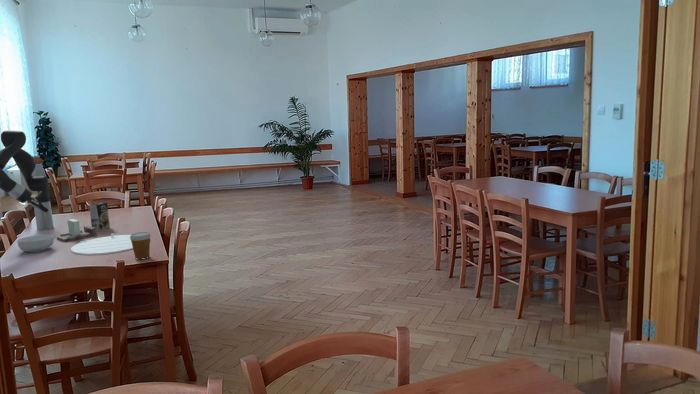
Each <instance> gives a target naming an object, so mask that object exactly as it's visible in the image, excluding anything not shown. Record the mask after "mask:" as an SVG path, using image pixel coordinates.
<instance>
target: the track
mask: <svg viewBox="0 0 700 394" xmlns="http://www.w3.org/2000/svg"><path fill="white" fill-rule="evenodd" d="M80 233H81V234H79V235H74V236H73V235H70V234H69V232H67V233H61V234H60V235H59V236H56V240H58V241H60V242H63V243H66V242H71V241H77V240H82V239H87V238H91V237H97V236H98V234H97V231H96V228H94V227H92V226H89V225H85V226H83V230H81V229H80Z"/></svg>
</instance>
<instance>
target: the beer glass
mask: <svg viewBox="0 0 700 394" xmlns="http://www.w3.org/2000/svg"><path fill="white" fill-rule="evenodd" d="M129 235H130V240H131V242H132V246H133V249H132V250H133V253H134V258H135V259H136V258H137V259H142V258H147V257H149V258H150V249H151V248H150V243H151V234H150V232H148V231H141V232H135V233H131V234H129Z"/></svg>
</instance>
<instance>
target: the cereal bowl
mask: <svg viewBox="0 0 700 394" xmlns="http://www.w3.org/2000/svg"><path fill="white" fill-rule="evenodd" d="M16 242H17V246H18V248H19V249H20V250H22V251H24V252H28V253H31V254H32V253H39V252H41V253H42V252H45V251H46V250H47V249H49V248H50V247H51V246H53V244H54V242H55V236H54V235H53V234H35V235H31V236H25V237H21V238H19V239H17V241H16Z"/></svg>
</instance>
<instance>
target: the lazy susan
mask: <svg viewBox="0 0 700 394" xmlns="http://www.w3.org/2000/svg"><path fill="white" fill-rule="evenodd" d="M130 235H131V234H122V235H121V234H120V235H119V234H117V235H115V233H112V232H111V233H110V236H103V237H97V238H92V239H89V240H81V241H79V242H78V243H76V244H74V245H73V246H72V247H71V248H70V252H71V253H72V254H75V255H80V256H101V255H109V254H117V252H118V253H122V252H121V251H124V252H126V251H125V250H128V251H131V250H130V249H132V250H133V246H132V242H131V240H130Z"/></svg>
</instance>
